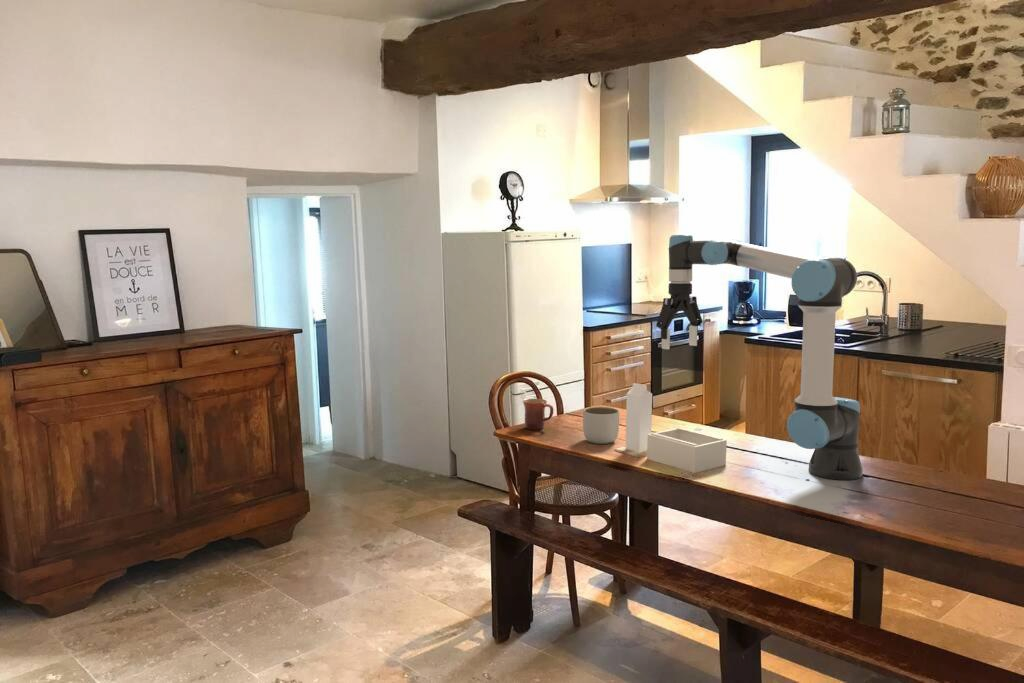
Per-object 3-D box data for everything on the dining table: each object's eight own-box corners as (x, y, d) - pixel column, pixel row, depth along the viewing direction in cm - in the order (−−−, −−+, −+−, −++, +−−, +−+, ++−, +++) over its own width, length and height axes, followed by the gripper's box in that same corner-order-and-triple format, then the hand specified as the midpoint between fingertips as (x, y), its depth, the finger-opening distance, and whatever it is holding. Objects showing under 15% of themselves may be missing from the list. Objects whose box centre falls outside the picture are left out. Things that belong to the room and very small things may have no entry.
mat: (661, 452, 273) (662, 450, 273) (638, 457, 266) (638, 455, 266) (637, 445, 282) (637, 443, 281) (614, 450, 275) (614, 448, 275)
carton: (725, 465, 258) (726, 438, 257) (694, 473, 249) (695, 445, 248) (678, 451, 274) (678, 426, 272) (646, 458, 265) (647, 433, 264)
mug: (518, 429, 305) (518, 401, 303) (530, 424, 312) (530, 397, 311) (546, 433, 298) (546, 405, 297) (558, 428, 306) (558, 401, 304)
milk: (637, 446, 278) (638, 381, 275) (651, 450, 273) (653, 384, 271) (625, 449, 274) (626, 383, 271) (639, 453, 269) (640, 386, 267)
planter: (618, 446, 280) (618, 415, 278) (581, 445, 282) (581, 413, 280) (619, 437, 292) (620, 407, 291) (584, 436, 294) (584, 406, 292)
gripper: (695, 280, 280) (695, 343, 283) (645, 283, 265) (645, 349, 267) (713, 281, 274) (712, 344, 277) (663, 284, 259) (662, 351, 261)
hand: (679, 347), depth 272 cm, fingers open, 13 cm apart
